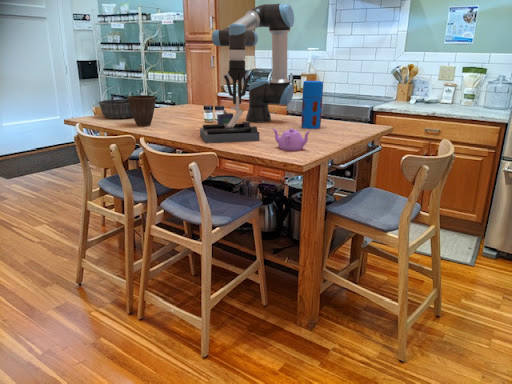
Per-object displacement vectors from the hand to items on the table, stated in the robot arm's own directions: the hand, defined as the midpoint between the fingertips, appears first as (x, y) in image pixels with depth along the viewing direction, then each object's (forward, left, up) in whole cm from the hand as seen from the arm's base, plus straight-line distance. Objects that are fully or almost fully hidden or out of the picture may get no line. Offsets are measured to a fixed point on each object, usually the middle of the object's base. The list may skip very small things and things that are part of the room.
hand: (237, 110), depth 200 cm
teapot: (-18, +27, -14) cm, 35 cm away
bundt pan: (+57, -78, -14) cm, 98 cm away
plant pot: (+44, -44, -14) cm, 64 cm away
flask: (+2, -20, -14) cm, 24 cm away
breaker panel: (+4, 0, -13) cm, 14 cm away
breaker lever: (+4, 0, -8) cm, 9 cm away
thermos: (-47, -19, -14) cm, 52 cm away
